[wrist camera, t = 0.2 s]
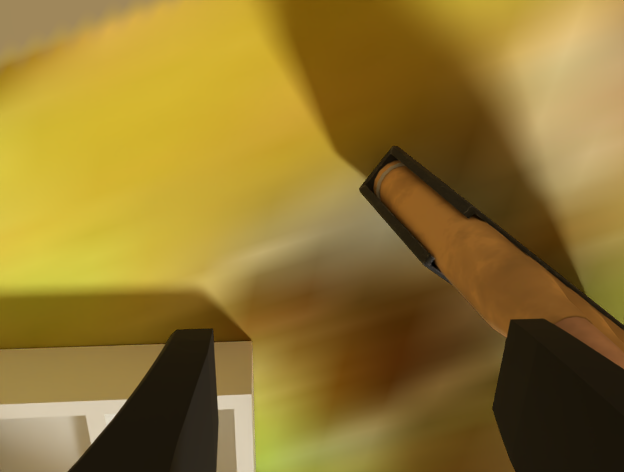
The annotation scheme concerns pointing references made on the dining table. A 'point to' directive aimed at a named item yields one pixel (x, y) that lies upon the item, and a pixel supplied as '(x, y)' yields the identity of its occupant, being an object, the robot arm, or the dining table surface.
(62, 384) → the trough tray
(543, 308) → the ammunition clip
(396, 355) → the dining table surface
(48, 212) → the dining table surface
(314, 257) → the dining table surface
